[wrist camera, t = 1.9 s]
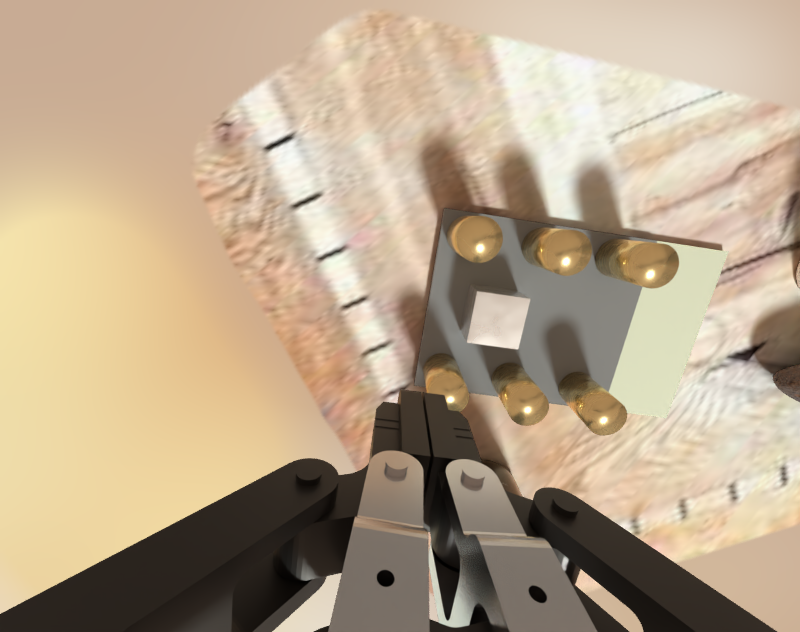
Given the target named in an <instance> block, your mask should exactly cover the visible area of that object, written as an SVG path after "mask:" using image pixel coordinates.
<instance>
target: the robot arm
mask: <svg viewBox="0 0 800 632" xmlns="http://www.w3.org/2000/svg"><path fill="white" fill-rule="evenodd" d="M428 532H430V534H431V543H430V548H429V552H428ZM429 569H430V575H431V581H432V586H433V592H434V598H435V604H436V610H437V616H438V621H439V623H438V622H436V621H433V620H430V619H429ZM580 569H582V570H583V571H584V572H585V573H587V574H588V575H589V576H590V577H591V578H593V579H594V580H595V581H596V582H598V583H599V584H600V585H601V586H603V587H604V588H605V589H606V590H607V591H609V592H610V593H611V594H612V595H614V596H615V597H616V598H618V599H619V600H620V601H621V602H622V603H624V604H625V605H626V606H627V607H628V608H630V609H631V610H632V611H633V612H634V613H635V614H636V616H637V617H638V619H639V621H640V622H641V624H642V627H643V630H644V632H777V631H775V630H774V629H772V628H771V627H769V626H768V625H766V624H765V623H763V622H762V621H760V620H759V619H758V618H756V617H755V616H753V615H751V614H750V613H749V612H747V611H746V610H744V609H743V608H741V607H740V606H738V605H736V604H735V603H734V602H732V601H731V600H729V599H727V598H726V597H725V596H723V595H722V594H720V593H719V592H717V591H716V590H714V589H713V588H711V587H710V586H708V585H707V584H705V583H704V582H702V581H701V580H699V579H698V578H696V577H695V576H694V575H692V574H690V573H689V572H688V571H686V570H685V569H683V568H682V567H680V566H679V565H677V564H676V563H674V562H673V561H671V560H670V559H668V558H667V557H665V556H664V555H662V554H661V553H659V552H658V551H656V550H655V549H653V548H652V547H650V546H649V545H647V544H646V543H644V542H643V541H641V540H640V539H638V538H637V537H635V536H634V535H632V534H631V533H630V532H628V531H627V530H625V529H624V528H622V527H621V526H619V525H618V524H616V523H615V522H613V521H612V520H610V519H609V518H607V517H606V516H604V515H603V514H601V513H600V512H598V511H597V510H595V509H594V508H592V507H591V506H589V505H588V504H586V503H585V502H583V501H582V500H580V499H579V498H577V497H576V496H574V495H572V494H570V493H568V492H566V491H563V490H560V489H556V488H541V489H539V490H538V491H537V492H536V493H535V495H534V498H533V500H530V499H527V498H524V497H522V496H519V495H516V494H513V493H511V492H508V491H506V490H504V488H503V486H502V484H501V482H500V480H499V478H498V477H497V475H496V474H495V473H494V472H493V471H492V470H491V469H490V468H488V467H487V466H485V465H484V464H482V461H481V458H480V455H479V452H478V450H477V447H476V444H475V441H474V440H473V435H472V432H471V429H470V426H469V424H468V421H467V419H466V418H465V417H464V416H463V415H462V414H461V413H460V412H459V411H452V410H448V406H447V402H446V399H445V396H444V395H440V394H432V393H425V392H423V393H421V392H416V391H409V390H401V389H400V392H399V397H398V403H389V402H383V403H382V404H381V405H380V406H379V407H378V408H377V409H376V416H375V423H374V429H373V436H372V443H371V451H370V460H369V464H368V465H367V466H366V467H365V468H363V469H362V470H360V471H358V472H355V473H352V474H345V475H338V472H337V470H336V469H335V468H334V467H333V466H332V465H331V464H329V463H328V462H325V461H323V460H319V459H311V458H308V459H300V460H296V461H293V462H292V463H289V464H287V465H285V466H283V467H281V468H279V469H277V470H276V471H274V472H272V473H270V474H268V475H266V476H264V477H262V478H261V479H258V480H256V481H254V482H253V483H251V484H249V485H247V486H245V487H243V488H241V489H239V490H237V491H235V492H233V493H232V494H230V495H228V496H226V497H224V498H222V499H220V500H218V501H216V502H214V503H212V504H210V505H208V506H206V507H205V508H203V509H201V510H199V511H197V512H195V513H193V514H191V515H189V516H187V517H185V518H184V519H182V520H180V521H178V522H176V523H174V524H172V525H170V526H168V527H166V528H164V529H162V530H161V531H159V532H157V533H155V534H153V535H151V536H149V537H147V538H145V539H143V540H141V541H139V542H138V543H136V544H134V545H132V546H130V547H128V548H126V549H124V550H122V551H120V552H118V553H116V554H114V555H112V556H111V557H109V558H107V559H105V560H103V561H101V562H99V563H97V564H95V565H93V566H91V567H90V568H88V569H86V570H84V571H82V572H80V573H78V574H76V575H74V576H72V577H70V578H68V579H67V580H65V581H63V582H61V583H59V584H57V585H55V586H53V587H51V588H49V589H47V590H45V591H44V592H42V593H40V594H38V595H36V596H34V597H32V598H30V599H28V600H26V601H24V602H22V603H21V604H18V605H17V606H15V607H13V608H11V609H9V610H7V611H5V612H3V613H1V614H0V632H272V631H273V630H275V628H276V627H278V626H279V625H280V624H281V623H282V622H283V621H284V620H285V619H287V618H288V617H289V616H290V615H291V614H292V613H293V612H294V611H295V610H296V609H298V608H299V607H300V606H301V605H302V604H303V603H304V602H305V601H306V600H307V599H309V598H310V597H311V596H312V595H313V594H314V593H315V592H316V591H317V590H318V589H319V588H320V587H321V586H322V585H323V583H324V582H325V579H326V577H327V576H329V575H334V574H338V573H342V575H341V579H340V583H339V588H338V592H337V596H336V600H335V605H334V609H333V613H332V618H331V623H330V625H329V626H326V627H323V628H320V629H318V630H316V631H314V632H629V631H628V630H627V629H626V628H624V627H623V626H622V625H621V624H620V623H619V622H617V621H616V620H615V619H614V618H613V617H612V616H610V615H609V614H608V613H607V612H606V611H604V610H603V609H602V608H601V607H600V606H599V605H597V604H596V603H595V602H594V601H593V600H592V599H591V598H589V597H588V596H587V595H586V594H585V593H584V592H582V591H581V590H580V589H579V588H578V587H576V586H575V583H576V581H577V578H578V575H579V572H580Z"/></svg>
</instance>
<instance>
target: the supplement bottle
mask: <svg viewBox="0 0 800 632" xmlns="http://www.w3.org/2000/svg"><path fill="white" fill-rule="evenodd" d="M796 279H797V284H798V286H799V288H800V262H799V264H798V267H797V272H796Z"/></svg>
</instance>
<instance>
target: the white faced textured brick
mask: <svg viewBox="0 0 800 632" xmlns="http://www.w3.org/2000/svg"><path fill="white" fill-rule="evenodd" d="M529 303H530V298H528V297H527V296H525V295H524V294H522V293H520V292H519V291H515V290H509V289H502V288H495V287H488V286H481V285H474V284H469V289H468V294H467V299H466V304H465V309H464V314H463V319H462V324H461V329H460V331H461V333H462V335H463V337H464V338H465V340H466V342H467V343H474V344H481V345H488V346H496V347H503V348H510V349H518V348H519V344H520V340H521V336H522V332H523V328H524V324H525V320H526V315H527V311H528V307H529Z"/></svg>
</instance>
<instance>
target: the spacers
mask: <svg viewBox="0 0 800 632" xmlns="http://www.w3.org/2000/svg"><path fill="white" fill-rule="evenodd" d="M447 241H448V244H449V246H450V248H451V249H452V250H453V251H454V252H456V253H457V254H459V255H460V256H462V257H464V258H465V259H467V260H469V261H471V262H474V263H483V262H487V261H489V260H491V259H492V258H494V257H495V256H496V255H497V254H498V252H499V251H500V249H501V246H502V243H503V234H502V230H501V228H500V226H499V225H498V223H497V222H496V221H494V220H493V219H491V218H489V217H486V216H462V217H459V218H457V219H456V220H454V221H453V222H452V223H451V225H450V226H449V228H448V231H447ZM522 254H523V257H524V258H525V260H526V261H527V262H528V263H530V264H532V265H534V266H537V267H540V268H543V269H545V270H548V271H551V272H553V273H556V274H559V275H562V276H571V275H574V274H577V273H579V272H580V271H582V270H583V269H584V268H585V267H586V266H587V264H588V263H589V261H590V258H591V255H592V246H591V242H590V240H589V238H588V237H587V236H586V235H585V234H584V233H582V232H580V231H577V230H567V229H556V228H544V227H541V228H536V229H534V230H532V231H531V232H529V233H528V234H527V235H526V237H525V238H524V240H523V243H522ZM595 265H596V268H597V269H598V271H599V272H600V273H601V274H603V275H605V276H608V277H611V278H615V279H618V280H622V281H625V282H629V283H632V284H635V285H639V286H642V287H646V288H651V289H653V288H659V287H662V286H664V285H666V284H667V283H669V282H670V281H671V280H672V279H673V278H674V276H675V275H676V273H677V270H678V267H679V257H678V254H677V252H676V251H675V249H674V248H672V247H671V246H669V245H667V244H661V243H652V242H643V241H634V240H625V239H612V240H609V241H607V242H605V243H604V244H603V245H602V246H601V247H600V248H599V249H598V251H597V253H596V257H595ZM423 372H424V378H425V384H426V390H427V393H432V394H440V395H444V396H445V399H446V402H447V406H448V410H452V411H459V412H461V411H462V410H463V409H464V408H465V407H466V405H467V404H468V401H469V392H468V389H467V386H466V384H465V382H464V379H463V377H462V374H461V372H460V369H459V367H458V364H457V362H456V361H455V359H454V358H453V357H451V356H450V355H448V354H444V353H439V354H435V355H433V356H431V357H430V358H428V359H427V361H426V362H425V364H424V368H423ZM492 385H493V387H494V389H495V391H496V392H497V394H498V396H499V398H500V400H501V401H502V403H503V405H504V407H505V408H506V410H507V412H508V414H509V415H510V417H511V419H512V420H513V421H514V422H516V423H517V424H520V425H525V426H529V425H534V424H536V423H538V422H540V421H541V420H542V419H543V418H544V417H545V416H546V414H547V412H548V409H549V402H548V399H547V397H546V396H545V395H544V393H543V392H542V391H541V390H540V389H539V387H538V386H537V385H536V384H535V382H534V381H533V380H532V379H531V378H530V376H529V375H528V374H527V373H526V372H525V370H524V369H523V368H522V367H521V366H520V365H518V364H516V363H505V364H502V365H500V366H499V367H497V368H496V369H495V371H494V372H493V375H492ZM559 394H560V396H561V398H562V399H563V400H564V401H565V402H566V403H567V405H568V406H569V407H570V408H571V409H572V410H573V411H574V412H575V413H576V415H577V416H578V417H579V418H580V419H581V420H582V421H583V422H584V423H585V424H586V426H587V427H588V428H589V429H590V430H591V431H592V432H593V433H595V434H598V435H610V434H613V433H615V432H617V431H618V430H620V429H621V428H622V427H623V425H624V424H625V422H626V419H627V410H626V408H625V406H624V405H623V404H622V403H621V402H620V401H618V400H617V399H616V398H615V397H614V396H612V395H611V394H610V393H609V392H608V391H606V390H605V389H604V388H603V387H602V386H600V385H599V384H598V383H597V382H596V381H594V380H593V379H592V378H591V377H590V376H588V375H587V374H585V373H583V372H573V373H570V374H568V375H566V376H565V377H564V378H563V379H562V380H561V382H560V384H559Z"/></svg>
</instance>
